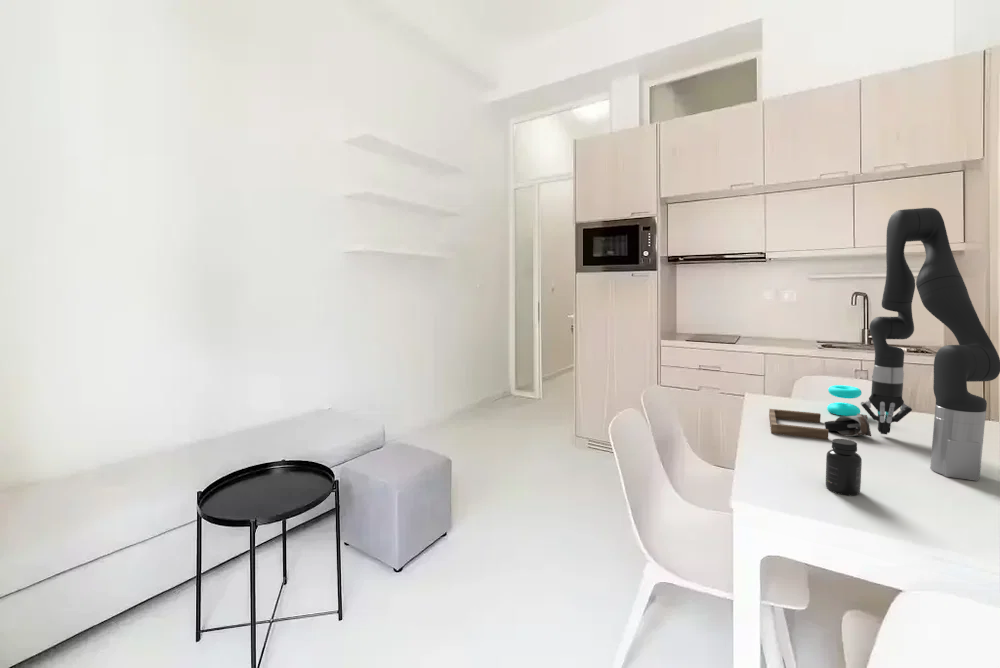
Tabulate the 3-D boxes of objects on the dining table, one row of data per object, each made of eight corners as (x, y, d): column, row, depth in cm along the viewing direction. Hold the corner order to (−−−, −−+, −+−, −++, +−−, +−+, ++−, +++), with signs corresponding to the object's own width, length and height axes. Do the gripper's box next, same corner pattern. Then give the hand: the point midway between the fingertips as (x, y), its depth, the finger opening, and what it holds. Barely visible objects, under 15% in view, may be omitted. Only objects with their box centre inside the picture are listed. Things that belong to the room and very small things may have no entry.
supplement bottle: (845, 483, 116) (848, 436, 115) (867, 495, 109) (871, 446, 108) (818, 484, 116) (820, 437, 115) (838, 496, 109) (842, 447, 108)
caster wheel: (823, 435, 159) (856, 432, 156) (837, 439, 148) (873, 436, 146) (819, 415, 160) (852, 412, 157) (832, 417, 149) (869, 414, 147)
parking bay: (828, 439, 147) (828, 430, 147) (771, 433, 154) (771, 424, 154) (819, 421, 166) (820, 413, 165) (769, 416, 173) (769, 408, 173)
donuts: (857, 391, 167) (824, 387, 174) (855, 419, 168) (823, 413, 176) (865, 387, 173) (833, 383, 181) (863, 413, 174) (831, 408, 182)
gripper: (863, 380, 147) (860, 434, 149) (918, 384, 141) (914, 440, 142) (859, 376, 153) (855, 427, 155) (911, 379, 147) (907, 432, 149)
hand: (883, 433), depth 149 cm, fingers closed
